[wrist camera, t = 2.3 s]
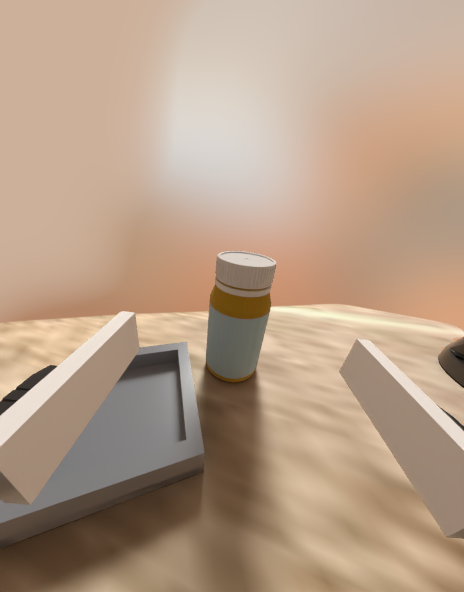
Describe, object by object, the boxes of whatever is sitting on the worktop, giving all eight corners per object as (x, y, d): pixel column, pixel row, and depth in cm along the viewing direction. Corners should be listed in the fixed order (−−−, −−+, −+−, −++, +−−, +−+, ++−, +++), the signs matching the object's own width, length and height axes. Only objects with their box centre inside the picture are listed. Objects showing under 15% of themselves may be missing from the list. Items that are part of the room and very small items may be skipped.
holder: (186, 358, 25) (186, 341, 23) (203, 471, 14) (204, 452, 13) (77, 375, 21) (69, 356, 19) (-12, 553, 10) (-41, 537, 9)
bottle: (261, 357, 27) (286, 259, 20) (244, 395, 21) (270, 274, 14) (221, 340, 29) (231, 247, 23) (195, 370, 23) (199, 256, 17)
